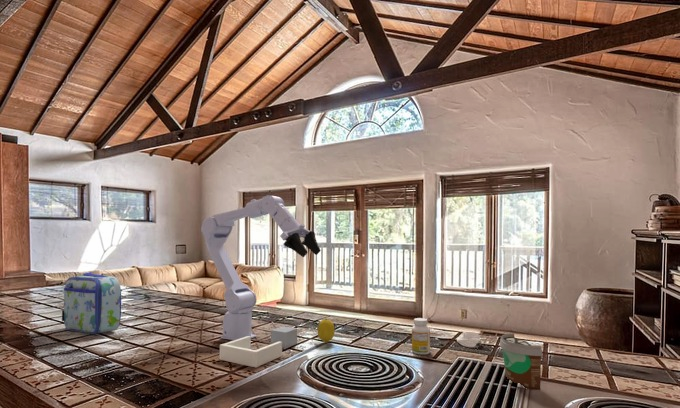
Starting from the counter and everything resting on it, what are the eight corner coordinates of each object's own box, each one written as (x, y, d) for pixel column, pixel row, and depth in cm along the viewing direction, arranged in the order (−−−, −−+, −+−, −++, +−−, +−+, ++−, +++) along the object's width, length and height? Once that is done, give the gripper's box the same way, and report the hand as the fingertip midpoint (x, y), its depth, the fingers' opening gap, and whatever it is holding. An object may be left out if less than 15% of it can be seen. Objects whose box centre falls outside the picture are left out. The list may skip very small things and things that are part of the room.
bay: (219, 359, 107) (219, 344, 107) (247, 349, 117) (247, 335, 117) (255, 367, 100) (256, 352, 101) (282, 356, 110) (282, 341, 110)
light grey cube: (270, 346, 120) (270, 330, 121) (283, 341, 126) (283, 326, 126) (285, 348, 117) (285, 332, 118) (297, 343, 123) (298, 328, 124)
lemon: (332, 346, 120) (332, 320, 121) (315, 345, 121) (315, 319, 122) (336, 341, 125) (336, 316, 126) (319, 340, 126) (320, 316, 127)
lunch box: (57, 329, 142) (60, 273, 144) (88, 323, 151) (91, 270, 153) (90, 339, 128) (94, 276, 130) (123, 332, 137) (126, 274, 139)
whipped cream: (453, 347, 122) (451, 332, 123) (462, 341, 127) (460, 326, 128) (477, 350, 117) (475, 334, 117) (486, 344, 122) (484, 328, 122)
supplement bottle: (418, 348, 118) (418, 316, 118) (433, 352, 114) (433, 319, 115) (408, 352, 114) (408, 319, 115) (423, 356, 110) (423, 322, 111)
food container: (491, 373, 96) (489, 333, 97) (514, 372, 96) (512, 332, 97) (518, 393, 84) (516, 347, 85) (544, 392, 84) (542, 346, 85)
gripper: (281, 214, 117) (306, 246, 112) (306, 214, 130) (331, 243, 125) (268, 230, 120) (293, 262, 115) (294, 229, 132) (318, 257, 127)
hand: (312, 253), depth 120 cm, fingers open, 7 cm apart
